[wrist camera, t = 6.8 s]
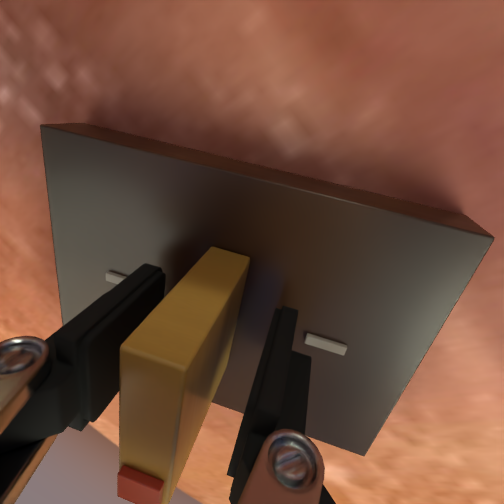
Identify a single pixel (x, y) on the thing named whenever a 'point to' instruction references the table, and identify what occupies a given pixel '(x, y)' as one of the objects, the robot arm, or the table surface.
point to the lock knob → (175, 374)
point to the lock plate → (267, 262)
